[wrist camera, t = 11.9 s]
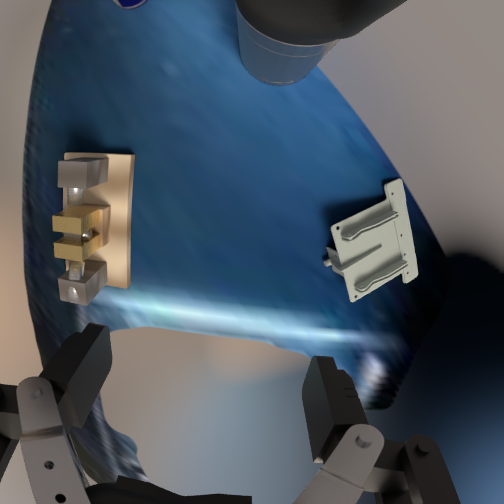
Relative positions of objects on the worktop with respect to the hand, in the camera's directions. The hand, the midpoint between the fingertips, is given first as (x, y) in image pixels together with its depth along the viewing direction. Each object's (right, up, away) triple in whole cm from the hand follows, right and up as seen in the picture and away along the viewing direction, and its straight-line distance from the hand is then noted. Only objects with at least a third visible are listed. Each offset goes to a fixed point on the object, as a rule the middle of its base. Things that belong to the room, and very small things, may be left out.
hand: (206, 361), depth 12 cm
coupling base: (-19, +9, +28) cm, 35 cm away
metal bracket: (+18, +6, +31) cm, 36 cm away
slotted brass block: (-19, +7, +25) cm, 32 cm away
